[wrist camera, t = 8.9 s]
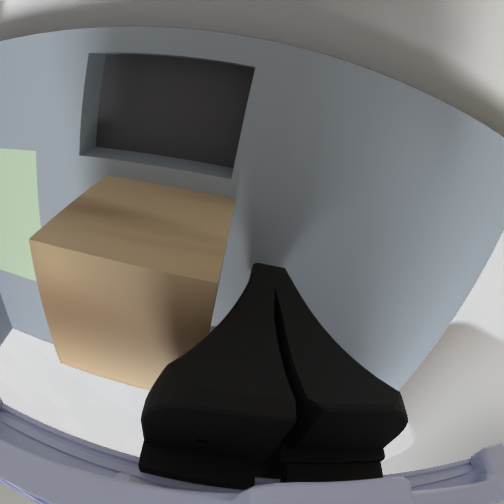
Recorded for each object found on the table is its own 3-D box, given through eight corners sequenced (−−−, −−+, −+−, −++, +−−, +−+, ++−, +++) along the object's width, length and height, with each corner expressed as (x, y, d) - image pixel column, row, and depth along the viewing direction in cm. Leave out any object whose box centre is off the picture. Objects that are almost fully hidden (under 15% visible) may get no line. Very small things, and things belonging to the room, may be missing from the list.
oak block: (214, 304, 14) (196, 400, 9) (108, 280, 13) (60, 362, 9) (236, 198, 11) (217, 283, 7) (107, 175, 11) (28, 238, 7)
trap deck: (382, 384, 19) (395, 431, 16) (17, 310, 17) (-11, 349, 14) (511, 147, 11) (566, 175, 7) (-8, 46, 9) (-65, 54, 5)
